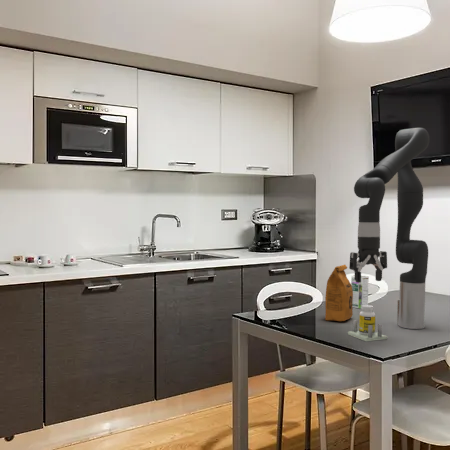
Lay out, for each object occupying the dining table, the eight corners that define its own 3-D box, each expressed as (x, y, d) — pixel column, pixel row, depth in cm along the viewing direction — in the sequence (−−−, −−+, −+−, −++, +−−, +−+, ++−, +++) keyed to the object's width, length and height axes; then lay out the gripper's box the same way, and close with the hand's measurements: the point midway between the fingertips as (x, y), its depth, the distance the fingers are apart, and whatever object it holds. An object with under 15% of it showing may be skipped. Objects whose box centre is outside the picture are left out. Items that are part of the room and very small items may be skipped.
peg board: (347, 334, 181) (348, 320, 181) (368, 332, 185) (368, 318, 185) (365, 341, 172) (365, 326, 172) (387, 339, 176) (387, 324, 175)
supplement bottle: (362, 335, 176) (363, 307, 175) (356, 331, 181) (357, 304, 181) (377, 335, 177) (378, 307, 176) (370, 331, 182) (371, 304, 182)
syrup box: (350, 307, 233) (350, 275, 233) (358, 305, 237) (358, 274, 236) (360, 309, 229) (360, 276, 228) (368, 307, 232) (369, 276, 232)
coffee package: (356, 318, 208) (357, 265, 208) (345, 324, 198) (346, 267, 198) (333, 315, 214) (334, 263, 213) (321, 320, 204) (322, 265, 203)
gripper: (378, 234, 183) (377, 279, 184) (345, 235, 178) (344, 281, 179) (392, 235, 177) (391, 282, 177) (358, 236, 171) (358, 284, 172)
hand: (368, 281), depth 178 cm, fingers open, 8 cm apart
